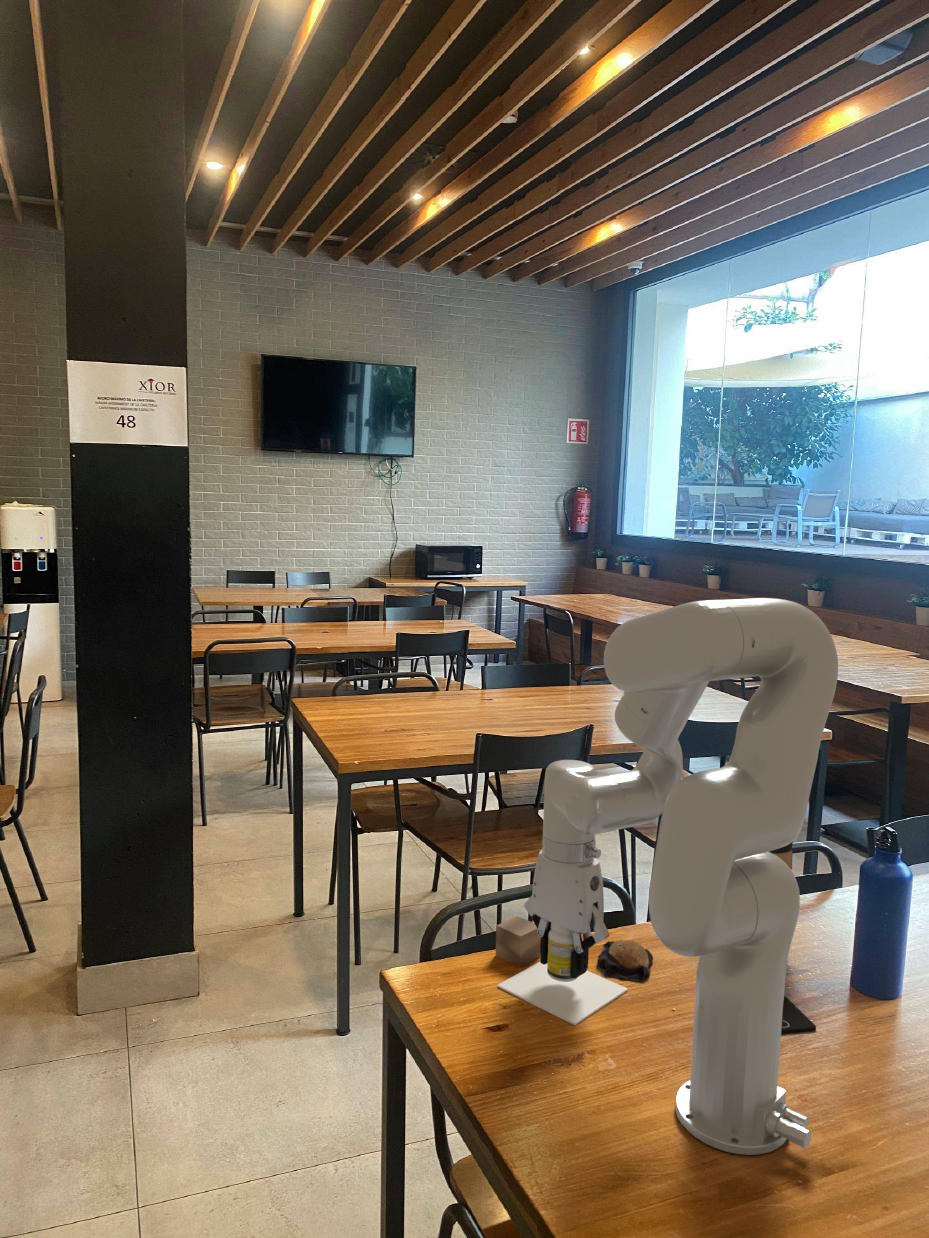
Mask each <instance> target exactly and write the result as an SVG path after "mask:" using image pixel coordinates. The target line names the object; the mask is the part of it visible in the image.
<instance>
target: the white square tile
mask: <svg viewBox="0 0 929 1238" xmlns="http://www.w3.org/2000/svg"><path fill="white" fill-rule="evenodd" d="M547 964H548V963H547ZM547 964H541V963H540V961H539V962H536V963H535V964H533V965H531V966H529V967H528V968H526V969H524V970H522V971H520V972H518V973H517V974H515V975H512V976H511V977H509V978H508V979H505V980H504V981H502V982H500V983H498V984H496V985H497V986H496V987H497V988H499V989H501V990H503V991H505V992H506V993H509V994H511V995H513V996H515V997H517V998H519V999H521V1000H522V1001H525V1002H527V1003H529V1004H531V1005H532V1006H535V1007H536V1008H539V1009H540V1010H543V1011H545V1012H547V1013H549V1014H551V1015H553V1016H555V1017H557V1018H559V1019H562V1020H563V1021H565V1022H566V1023H567V1022H568V1023H569V1024H571V1025H573V1026H576V1025H579V1023H582V1022H583V1021H584V1020H586V1019H587V1018H589V1017H590V1016H592V1015H593V1014H595V1013H597V1011H599V1010H601V1009H602V1008H604V1007H605V1006H607V1005H608V1004H610V1003H612V1002H613V1001H615V1000H616V999H617V998H619V997H621V996H622V995H623V994H625V993H627V992H628V991H629V988H628V987H625V986H623V985H621V984H618V983H616V982H614V981H611V980H610V979H608V978H606V977H602V976H601V975H598V974H596V973H594V972H591V971H588V970H587V971H586V972H585V973H584V974H582V975H580V976H579V977H578V978H577V979H576V980H574V981H570V982H562V981H557V980H554V979H552V978H551V977H550V976H549V975H548V973H547Z"/></svg>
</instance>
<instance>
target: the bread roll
mask: <svg viewBox="0 0 929 1238" xmlns="http://www.w3.org/2000/svg"><path fill="white" fill-rule="evenodd" d="M600 951H601V952H600V953H599V954H598V957H597V958H598V959H597V963H596V964H597V965H598V967H599V976H600V977H603V978H605V979H615V980H621V981H626V982H630V983H631V982H632V983H648V982H649V981H650V978H651V971H652V970H651V969H652V965H653V960H654V957H653V953H651V951H649V950H648V949H647V948H645V947H643V945H641V944H639V943H638V942H637V941H634V940H628V939H627V940H626V939H619V940H618V939H617V940H615V941H614V940H611V941H610V940H609V941H606V942H605V943H604V944H602V947H601V950H600Z"/></svg>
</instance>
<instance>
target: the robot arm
mask: <svg viewBox="0 0 929 1238" xmlns="http://www.w3.org/2000/svg"><path fill="white" fill-rule="evenodd" d="M835 644H836V643H835V642H834V639H833V636H832V634H831V633H830V631H829V629H828V627H827V626H826V624H825V622H823V620H822V618H820V617H819V616H818V614H816V613H815V612H813V610H811V609H809V608H807V607H806V606H804V605H802V604H800V603H798V602H795V601H792V600H787V599H782V598H771V597H769V598H768V597H756V598H753V597H751V598H739V599H738V598H736V599H735V598H734V599H708V600H707V599H706V600H695V601H691V602H686V603H681V604H678V605H676V606H672V607H669V608H665V609H663V610H660V611H656V612H653V613H650V614H645V615H643V616H638V617H635V618H632V619H630V620H626V621H625V622H623V623H621V624H620V625H619V626H617V627H616V628H615V630H614V631H613V632H612V633H611V635H610V637H609V638H608V640H607V642H606V645H605V648H604V652H603V667H604V671H605V675H606V677H607V679H608V680H609V682H610V683H611V684H612V685H613V686H614V687H615V688H616V689H618V690H620V691H623V694H622V696H621V698H620V699H619V702H618V703H617V706H616V707H615V712H614V721H615V724H616V727H617V728H618V730H619V731H620V732H621V734H622V735H623V736H624V737H625V738H626V739H627V740H628V741H630V742H632V743H633V744H635V745H636V746H638V747H639V748H641V749H644V750H643V752H642V754H641V756H640V757H639V760H638V762H636V763H637V764H635V766H634V768H633V769H632V770H625V771H619V772H618V771H617V772H612V773H606V774H601V775H598V773H599V772H598V771H597V769H596V768H595V766H594V765H592V764H590V763H588V762H585V761H582V760H578V759H559V760H556V761H553V762H551V763H549V765H548V766H547V767H546V768H545V769H546V770H545V775H544V790H543V791H544V795H543V797H544V799H543V822H542V825H543V826H542V841H541V842H542V845H541V846H542V848H541V849H540V850H539V853H538V856H537V859H536V863H535V869H534V874H533V875H534V876H533V880H532V892H531V893H532V894H531V896H529V898H528V899H527V901H525V903H524V906H523V907H524V909H525V910H526V911H527V913H528V914H529V916H530V917H531V919H532V921H533V923H535V925H536V927H537V929H538V930H537V934H538V935H539V936H540V937H541V945H540V953H541V956H540V957H539V959H540V961H539V962H540V963H541V964H547V963H548V935H549V931H550V930H551V922H552V923H555V924H558V925H560V926H562V927H564V928H567V929H569V930H571V931H572V934H573V940H574V946H575V950H573V951H572V952H571V971H570V976H571V977H572V978H574V979H575V978H577V977H579V976H580V975H582V974H584V973H585V972H586V971H588V968H589V950H590V948H592V947H593V946H594V945H596V944H598V943H600V942H602V941H605V940H606V939H608V938H610V932H609V930H608V928H607V925H606V924H605V922H604V915H605V914H604V913H605V912H604V911H605V908H604V907H605V903H604V902H605V901H604V882H603V881H604V880H603V874H602V868H601V863H600V860H599V859H600V857H601V855H602V851H601V849H599V848H597V847H596V841H597V840H596V835H601V834H605V833H611V832H616V831H617V830H622V829H627V828H628V829H629V828H632V827H633V828H634V827H638V826H645V825H647V824H649V823H652V822H653V821H655V820H656V819H658V818H659V817H660V816H661V818H660V823H659V829H658V835H657V839H656V841H657V842H656V846H655V851H654V856H653V858H654V859H653V863H652V870H651V874H650V881H649V888H648V910H649V911H648V913H649V918H650V921H651V925H652V928H653V930H654V933H655V935H656V936H657V938H658V940H659V941H660V943H662V945H663V946H664V947H665V948H666V949H667V950H668V951H671V952H673V954H675V955H678V956H682V957H688V958H690V957H691V958H692V957H693V958H694V957H695V958H696V957H698V963H697V967H696V981H695V991H694V993H695V994H694V1008H693V1009H694V1011H693V1013H694V1014H693V1028H692V1046H691V1063H690V1078H689V1079H690V1080H688V1081H686V1082H685V1083H683V1084H682V1085H681V1086H680V1087H679V1088H678V1090H677V1092H676V1095H675V1102H674V1104H675V1105H674V1107H675V1108H674V1109H675V1113H676V1117H677V1118H678V1120H679V1121H680V1124H681V1125H682V1126H683V1128H685V1129H686V1131H687V1132H689V1133H690V1134H691V1135H692V1136H694V1138H696V1139H698V1140H699V1141H700V1142H702V1143H704V1144H706V1145H708V1146H710V1147H712V1148H714V1149H717V1150H720V1151H723V1152H726V1153H731V1154H736V1155H745V1156H746V1155H747V1156H751V1155H752V1156H753V1155H755V1156H756V1155H764V1154H768V1153H771V1152H773V1151H775V1150H778V1149H779V1148H781V1146H783V1145H784V1144H785V1142H787V1140H788V1142H791V1143H792V1144H795V1145H797V1146H798V1147H800V1148H802V1149H805V1150H806V1149H807V1148H808V1147H809V1145H810V1143H811V1139H812V1131H811V1130H810V1129H808V1125H809V1121H810V1120H809V1119H810V1118H809V1117H808V1116H806V1115H805V1114H802V1113H801V1112H799V1111H795V1110H793V1109H791V1108H789V1105H788V1104H786V1097H787V1096H786V1095H787V1090H786V1089H784V1088H782V1087H780V1086H779V1085H778V1083H779V1068H780V1054H781V1042H782V1041H781V1038H782V1034H781V1028H782V1013H783V1001H784V995H785V988H786V973H787V967H788V966H787V965H788V959H789V954H790V949H791V946H792V941H793V938H794V934H795V931H796V927H797V923H798V919H799V914H800V904H801V903H800V902H801V897H800V896H801V895H800V894H801V893H800V887H799V884H798V881H797V879H796V876H795V875H794V872H793V870H792V868H791V869H790V868H789V866H788V865H787V864H786V863H785V862H784V861H783V860H782V859H780V858H779V857H778V856H776V855H774V854H772V853H770V852H769V851H773V850H776V849H779V848H782V847H784V846H787V845H788V844H790V843H792V842H793V843H794V841H796V839H797V838H798V836H799V834H800V833H801V831H802V828H803V825H804V822H805V817H806V815H807V809H808V805H809V800H810V795H811V789H812V785H813V781H814V777H815V772H816V768H817V762H818V758H819V751H820V746H821V743H822V742H821V741H822V737H823V734H824V731H825V726H826V723H827V720H828V717H829V714H830V710H831V708H832V704H833V700H834V698H835V694H836V689H837V683H838V676H839V658H838V651H837V648H836V645H835ZM752 677H754V678H755V677H759V679H760V684H759V686H758V688H757V689H756V690H755V691H754V693H753V694H752V696H751V697H750V699H749V700H748V702H747V704H746V705H745V706H744V708H743V710H742V713H741V715H740V717H739V720H738V723H737V727H736V733H735V740H734V744H733V748H732V752H731V755H730V758H729V759H728V762H727V763H726V764H724V766H721V767H718V768H713V769H707V770H702V771H697V772H694V773H691V774H689V775H687V776H685V777H683V773H684V772H683V771H684V761H683V759H684V758H683V757H684V756H683V752H682V751H683V750H682V746H681V744H680V740H679V737H680V735H681V733H682V732H683V730H684V728H685V726H686V725H687V722H688V720H689V719H690V717H691V715H692V713H693V711H694V710H695V708H696V706H697V705H698V703H699V701H700V699H701V698H702V695H703V694H704V692H705V690H706V688H707V687H708V684H709V682H712V681H713V682H714V681H723V680H733V679H746V678H752ZM590 925H591V926H592V929H593V930H594V933H593V934H592V931H591V930H592V929H591V926H590Z"/></svg>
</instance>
